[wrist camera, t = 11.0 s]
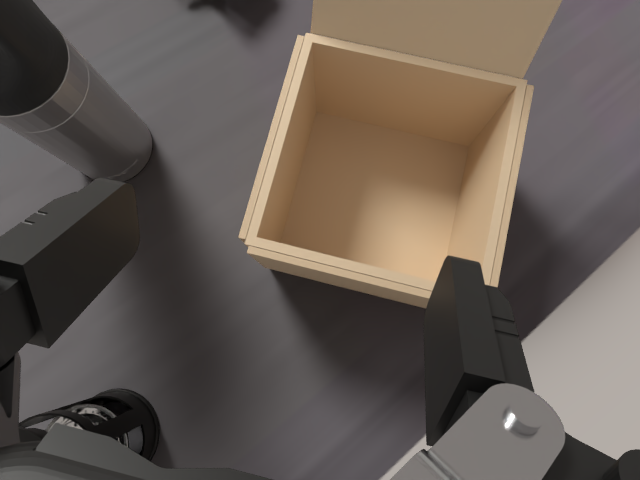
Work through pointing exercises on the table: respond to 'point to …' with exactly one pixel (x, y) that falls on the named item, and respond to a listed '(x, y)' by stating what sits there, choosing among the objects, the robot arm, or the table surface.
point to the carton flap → (443, 29)
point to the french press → (102, 419)
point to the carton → (386, 169)
